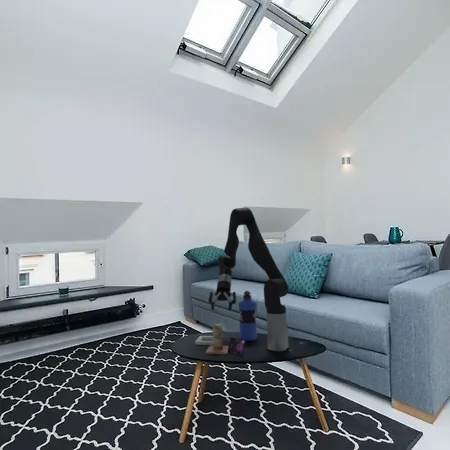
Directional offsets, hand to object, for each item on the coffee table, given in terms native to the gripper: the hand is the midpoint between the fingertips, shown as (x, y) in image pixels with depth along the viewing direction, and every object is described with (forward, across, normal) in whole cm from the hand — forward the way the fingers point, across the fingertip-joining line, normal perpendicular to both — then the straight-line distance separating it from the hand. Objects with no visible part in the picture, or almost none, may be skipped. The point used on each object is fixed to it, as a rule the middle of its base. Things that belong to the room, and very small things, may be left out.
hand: (221, 309), depth 171 cm
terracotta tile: (+19, 0, +5) cm, 20 cm away
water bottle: (+5, +12, +20) cm, 24 cm away
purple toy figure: (+21, +10, +4) cm, 24 cm away
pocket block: (+10, -8, +14) cm, 19 cm away
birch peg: (+19, 0, +4) cm, 19 cm away
